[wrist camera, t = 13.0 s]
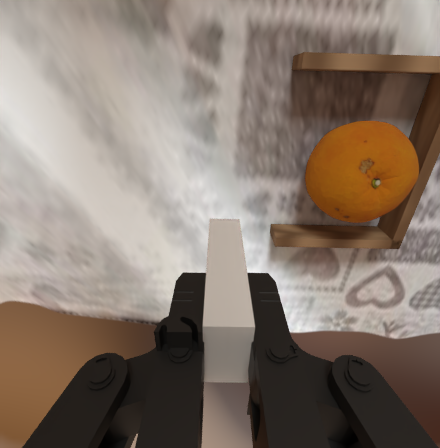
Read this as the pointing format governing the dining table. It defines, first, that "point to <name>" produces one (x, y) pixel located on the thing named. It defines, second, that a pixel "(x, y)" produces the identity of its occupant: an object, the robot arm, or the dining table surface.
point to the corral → (420, 138)
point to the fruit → (361, 171)
